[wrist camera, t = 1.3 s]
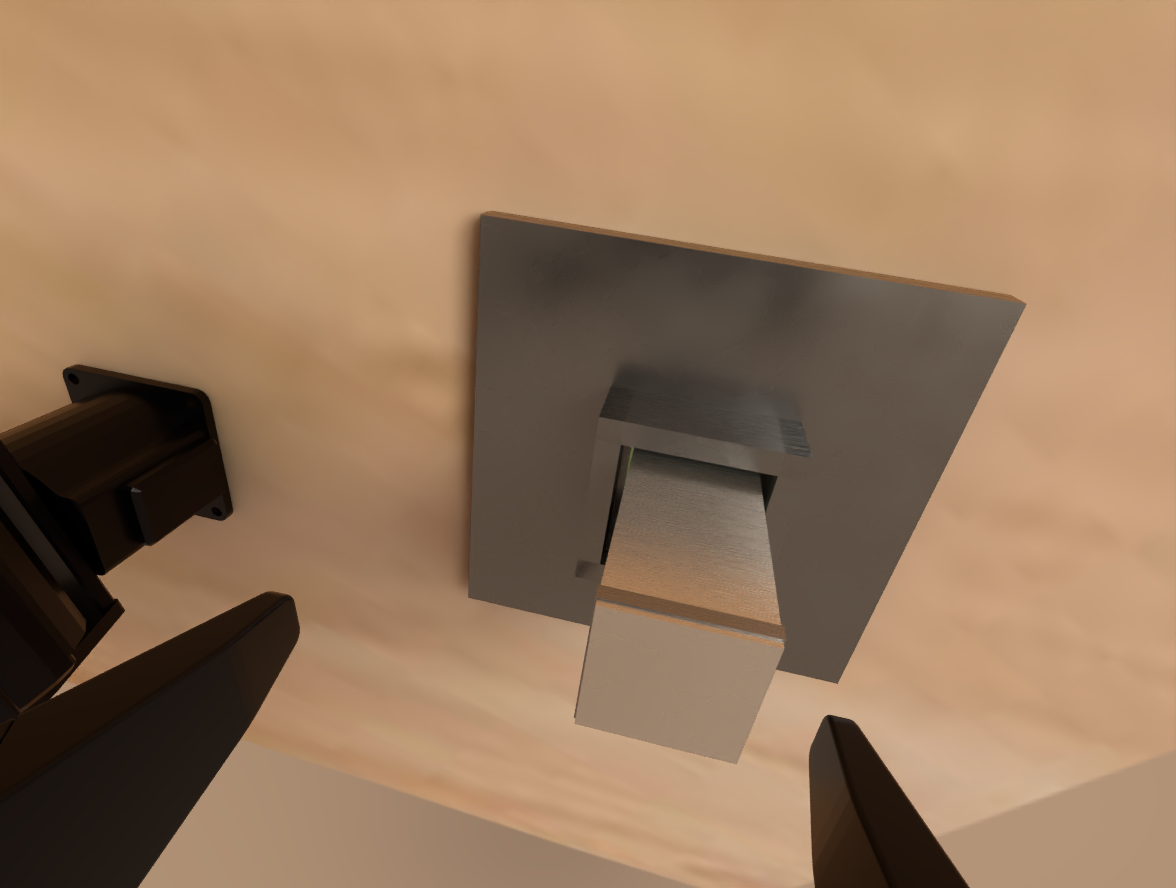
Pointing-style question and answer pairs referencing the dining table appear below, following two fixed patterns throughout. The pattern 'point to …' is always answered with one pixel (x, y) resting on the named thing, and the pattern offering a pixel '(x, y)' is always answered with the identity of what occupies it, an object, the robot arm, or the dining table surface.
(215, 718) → the robot arm
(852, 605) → the stand base
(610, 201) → the dining table surface
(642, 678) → the post
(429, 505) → the dining table surface
